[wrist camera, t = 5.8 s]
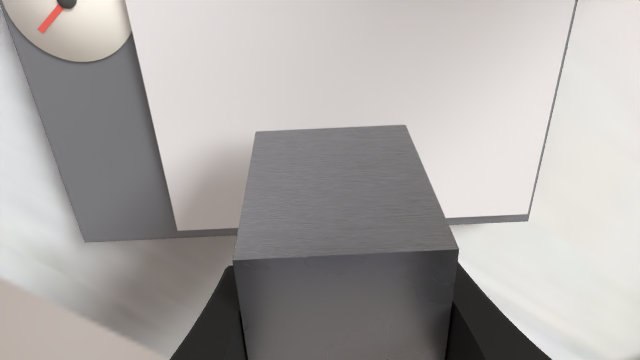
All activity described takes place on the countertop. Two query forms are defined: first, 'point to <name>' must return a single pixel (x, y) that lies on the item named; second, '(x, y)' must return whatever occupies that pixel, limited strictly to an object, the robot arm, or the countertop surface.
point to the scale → (284, 97)
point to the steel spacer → (343, 248)
